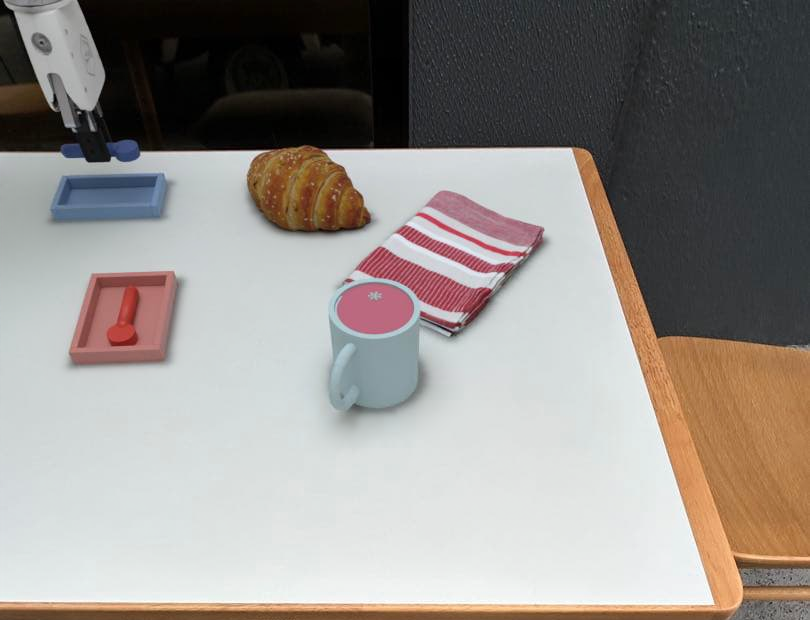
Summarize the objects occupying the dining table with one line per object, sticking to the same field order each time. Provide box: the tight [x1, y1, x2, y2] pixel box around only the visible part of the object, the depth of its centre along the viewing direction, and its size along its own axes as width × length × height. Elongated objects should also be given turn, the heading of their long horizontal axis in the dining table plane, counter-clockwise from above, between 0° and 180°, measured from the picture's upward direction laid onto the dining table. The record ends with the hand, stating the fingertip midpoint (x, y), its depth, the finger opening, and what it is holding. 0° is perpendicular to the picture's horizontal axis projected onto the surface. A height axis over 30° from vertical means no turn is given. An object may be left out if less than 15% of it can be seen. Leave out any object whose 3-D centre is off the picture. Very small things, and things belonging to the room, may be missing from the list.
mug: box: [327, 278, 421, 412], centre depth 70 cm, size 14×9×10 cm
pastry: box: [246, 144, 371, 232], centre depth 89 cm, size 21×13×8 cm, turn 53°
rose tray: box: [68, 270, 179, 365], centre depth 79 cm, size 14×10×2 cm
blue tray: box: [49, 172, 168, 222], centre depth 92 cm, size 14×8×2 cm, turn 94°
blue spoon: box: [60, 139, 141, 163], centre depth 86 cm, size 10×3×2 cm, turn 94°
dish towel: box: [341, 189, 545, 338], centre depth 85 cm, size 17×23×3 cm
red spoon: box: [106, 286, 139, 346], centre depth 78 cm, size 10×3×2 cm, turn 4°
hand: (100, 155), depth 87 cm, fingers closed on blue spoon, 1 cm apart
